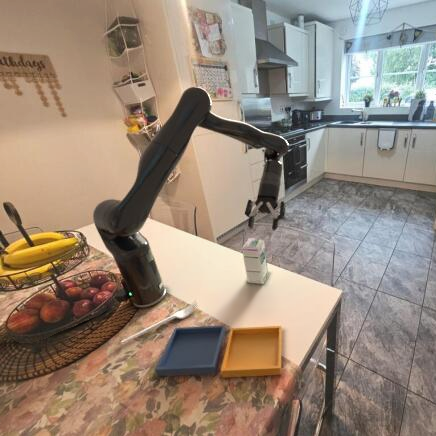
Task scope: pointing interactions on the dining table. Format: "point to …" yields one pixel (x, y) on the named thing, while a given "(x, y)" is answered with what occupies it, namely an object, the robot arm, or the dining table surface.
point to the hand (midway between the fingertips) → (261, 229)
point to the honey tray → (253, 352)
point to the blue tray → (192, 351)
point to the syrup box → (255, 260)
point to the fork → (179, 315)
